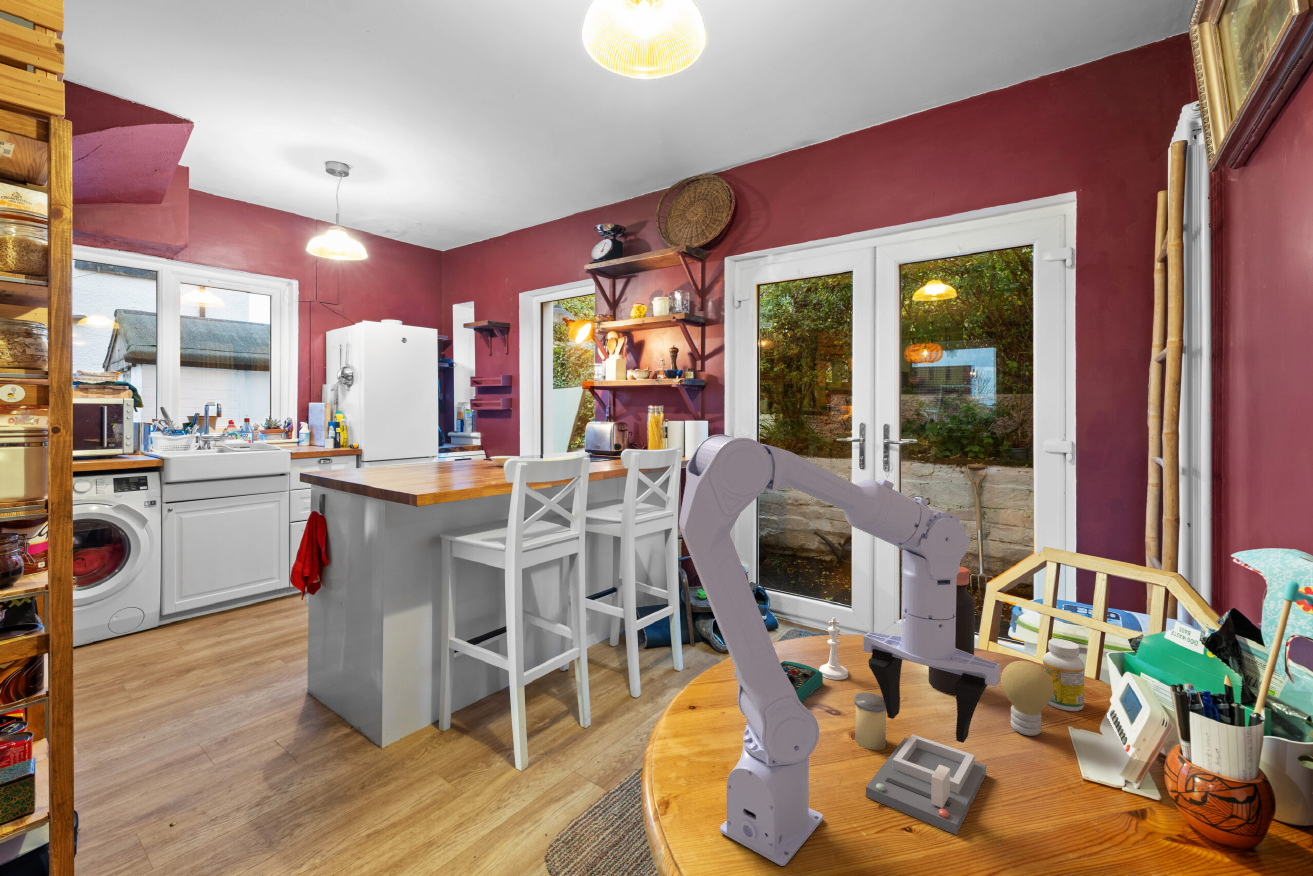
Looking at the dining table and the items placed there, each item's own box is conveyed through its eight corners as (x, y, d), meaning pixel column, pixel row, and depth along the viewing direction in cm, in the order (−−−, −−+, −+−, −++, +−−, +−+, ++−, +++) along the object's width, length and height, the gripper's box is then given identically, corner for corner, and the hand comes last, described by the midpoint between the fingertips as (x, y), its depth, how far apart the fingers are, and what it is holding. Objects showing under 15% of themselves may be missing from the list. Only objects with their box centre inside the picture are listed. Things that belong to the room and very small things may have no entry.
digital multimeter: (824, 685, 101) (824, 667, 100) (785, 723, 88) (785, 703, 88) (783, 673, 105) (783, 656, 105) (740, 708, 93) (740, 689, 93)
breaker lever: (942, 808, 67) (942, 780, 66) (931, 803, 67) (931, 776, 67) (949, 795, 69) (950, 768, 69) (938, 790, 70) (939, 764, 70)
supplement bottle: (1089, 714, 90) (1091, 652, 89) (1049, 709, 91) (1050, 648, 91) (1074, 697, 95) (1076, 638, 94) (1037, 693, 96) (1038, 635, 96)
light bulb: (1056, 730, 85) (1057, 662, 85) (1047, 749, 81) (1049, 677, 80) (1005, 715, 90) (1007, 650, 89) (994, 732, 85) (996, 663, 84)
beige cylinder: (880, 754, 79) (881, 711, 79) (848, 743, 82) (849, 700, 82) (891, 740, 83) (892, 699, 83) (861, 730, 86) (861, 689, 85)
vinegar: (983, 691, 97) (985, 571, 96) (952, 699, 94) (955, 575, 94) (948, 674, 103) (950, 561, 102) (919, 681, 101) (920, 565, 100)
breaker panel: (956, 835, 64) (956, 814, 64) (865, 796, 71) (865, 777, 71) (986, 774, 75) (986, 756, 75) (904, 745, 81) (904, 729, 81)
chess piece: (852, 680, 101) (852, 622, 101) (823, 680, 101) (823, 622, 101) (843, 667, 106) (843, 613, 106) (815, 667, 106) (816, 613, 106)
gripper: (1007, 616, 66) (1005, 734, 67) (879, 591, 76) (878, 694, 77) (992, 634, 61) (989, 762, 62) (856, 604, 71) (855, 715, 72)
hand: (926, 726), depth 69 cm, fingers open, 7 cm apart
